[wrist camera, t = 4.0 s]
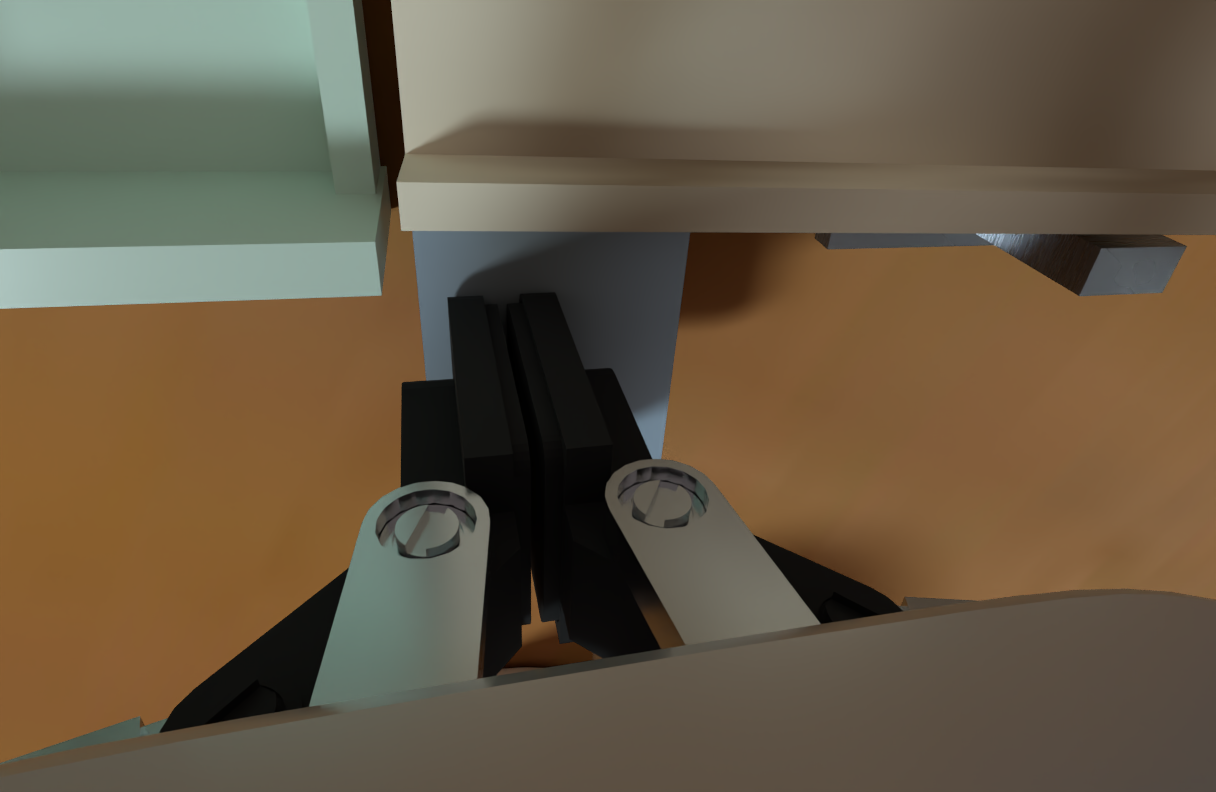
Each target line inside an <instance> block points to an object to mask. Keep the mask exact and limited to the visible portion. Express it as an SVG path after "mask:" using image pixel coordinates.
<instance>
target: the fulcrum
mask: <svg viewBox="0 0 1216 792" xmlns="http://www.w3.org/2000/svg"><path fill="white" fill-rule="evenodd" d="M815 239H816V240H817V241H819V242H820V243H821V244H822V245H823V246H824V247H825V248H827V249H857V248H897V247H938V246H978V245H995V246H997V247H998V248H1000V249H1002V250H1003V251H1005V252H1007V253H1008V254H1010V255H1012V256H1013V257H1015V258H1017V259H1018V260H1020V261H1022V262H1023V263H1025V264H1027V265H1028V266H1030V267H1032V268H1033V269H1035V270H1037V271H1038V272H1040V273H1042V274H1043V275H1045V276H1047V277H1048V278H1050V279H1052V280H1053V281H1055V282H1057V283H1058V284H1060V285H1062V286H1063V287H1065V288H1067V289H1068V290H1070V291H1072V292H1073V293H1075V294H1077V295H1078V296H1093V295H1116V294H1140V293H1162V292H1163V290H1164V288H1165V286H1166V284H1167V283H1168V281H1169V279H1170V277H1171V275H1172V273H1173V271H1174V269H1175V267H1176V266H1177V264H1178V262H1179V260H1180V258H1181V256H1182V254H1183V252H1184V251H1185V249H1186V247H1187V246H1185V245H1183V244H1181V243H1179V242H1176V241H1174V240H1172V239H1170V238H1168V237H1165V236H1163V235H1150V234H946V233H816V234H815Z"/></svg>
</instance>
